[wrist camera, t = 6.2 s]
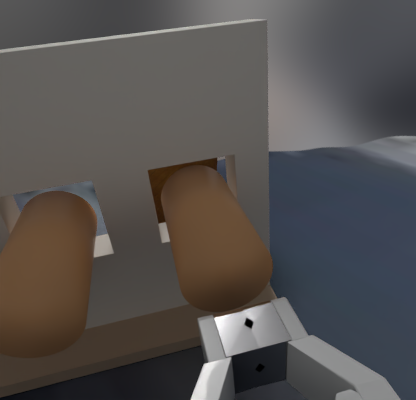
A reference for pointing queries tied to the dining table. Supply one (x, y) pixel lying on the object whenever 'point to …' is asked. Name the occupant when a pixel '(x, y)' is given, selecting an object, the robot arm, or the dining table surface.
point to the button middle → (46, 275)
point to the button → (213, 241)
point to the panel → (132, 169)
